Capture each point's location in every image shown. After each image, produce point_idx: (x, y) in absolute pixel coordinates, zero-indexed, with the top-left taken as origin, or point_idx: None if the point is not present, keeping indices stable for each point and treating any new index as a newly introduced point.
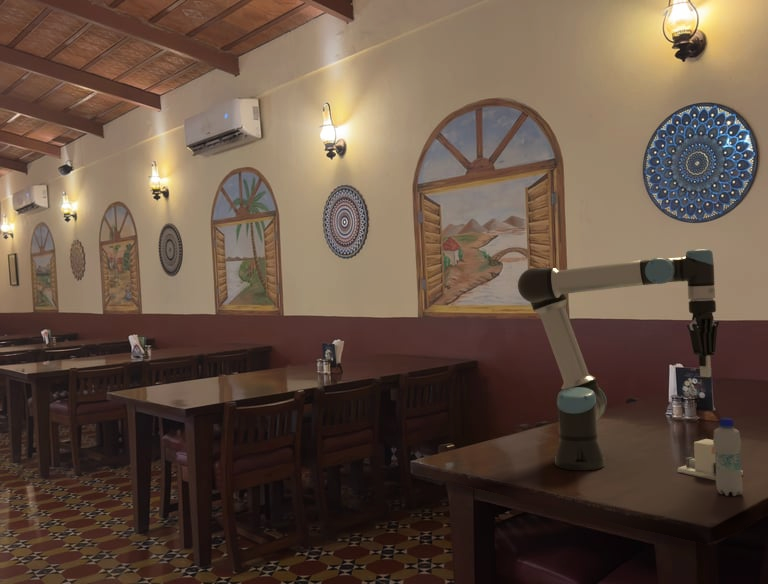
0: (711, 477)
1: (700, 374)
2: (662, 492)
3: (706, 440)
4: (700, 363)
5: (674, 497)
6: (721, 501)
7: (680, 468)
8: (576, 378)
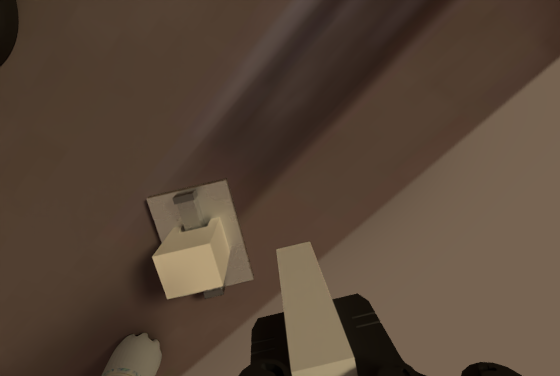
0: None
1: (277, 258)
2: (28, 293)
3: (196, 257)
4: (255, 346)
5: (32, 324)
6: (99, 370)
7: (149, 205)
8: None
